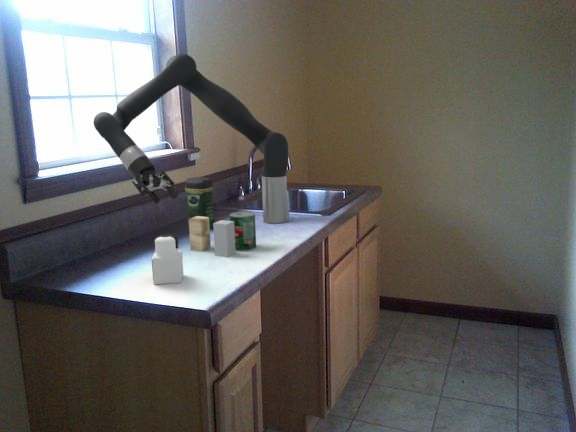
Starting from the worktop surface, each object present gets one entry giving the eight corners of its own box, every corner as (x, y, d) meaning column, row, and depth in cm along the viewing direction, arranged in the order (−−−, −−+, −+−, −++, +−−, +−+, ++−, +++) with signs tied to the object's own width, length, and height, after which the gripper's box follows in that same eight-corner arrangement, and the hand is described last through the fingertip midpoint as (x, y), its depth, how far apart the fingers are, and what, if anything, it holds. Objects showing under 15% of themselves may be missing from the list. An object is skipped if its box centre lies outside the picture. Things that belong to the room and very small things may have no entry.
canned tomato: (261, 246, 184) (259, 212, 182) (247, 252, 178) (246, 217, 175) (240, 243, 188) (238, 210, 186) (226, 249, 181) (224, 215, 179)
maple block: (199, 246, 186) (197, 216, 184) (210, 247, 184) (209, 217, 181) (190, 250, 182) (188, 219, 180) (202, 251, 180) (200, 220, 178)
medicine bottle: (157, 276, 157) (153, 233, 154) (183, 274, 158) (180, 232, 155) (153, 284, 150) (149, 240, 147) (181, 283, 151) (178, 238, 148)
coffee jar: (218, 227, 211) (216, 176, 207) (205, 231, 205) (202, 179, 201) (197, 224, 216) (194, 175, 212) (184, 229, 209) (180, 178, 205)
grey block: (223, 251, 179) (221, 220, 177) (235, 253, 177) (234, 221, 175) (214, 255, 175) (213, 223, 173) (227, 257, 173) (225, 224, 171)
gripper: (127, 157, 180) (159, 196, 177) (157, 152, 192) (187, 188, 189) (115, 173, 183) (146, 211, 180) (146, 167, 195) (175, 203, 193)
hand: (167, 200), depth 185 cm, fingers open, 8 cm apart
